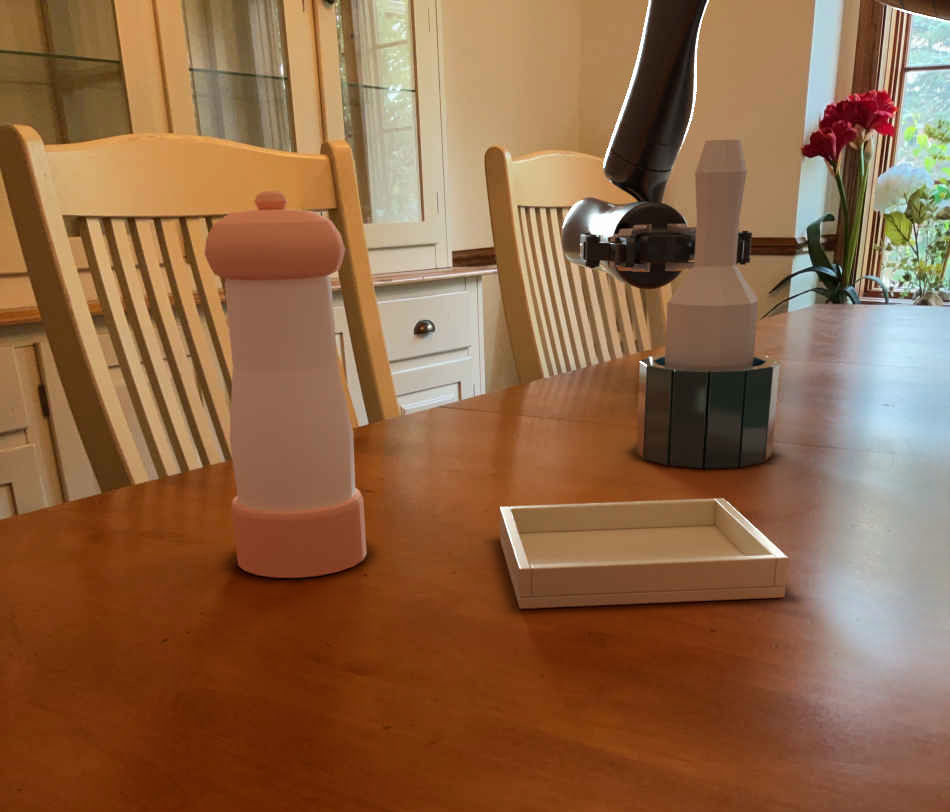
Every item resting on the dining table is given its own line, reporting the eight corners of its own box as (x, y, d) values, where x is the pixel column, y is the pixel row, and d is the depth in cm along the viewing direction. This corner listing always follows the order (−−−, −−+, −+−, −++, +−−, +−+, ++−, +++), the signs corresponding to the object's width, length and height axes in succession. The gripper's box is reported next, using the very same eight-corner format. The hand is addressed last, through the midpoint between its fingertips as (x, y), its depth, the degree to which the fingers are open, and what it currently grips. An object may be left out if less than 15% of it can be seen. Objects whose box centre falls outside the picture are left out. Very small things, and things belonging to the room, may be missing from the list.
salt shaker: (214, 556, 60) (169, 193, 52) (322, 530, 64) (295, 191, 57) (279, 588, 54) (239, 190, 47) (392, 557, 59) (372, 188, 51)
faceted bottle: (645, 454, 81) (658, 142, 73) (691, 441, 85) (709, 144, 77) (715, 466, 77) (738, 136, 68) (761, 452, 81) (787, 139, 73)
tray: (721, 532, 62) (723, 497, 61) (784, 597, 52) (788, 557, 51) (499, 541, 61) (499, 506, 60) (519, 609, 51) (519, 568, 50)
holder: (747, 437, 86) (754, 350, 83) (788, 465, 77) (797, 368, 74) (626, 442, 85) (629, 354, 83) (653, 471, 76) (658, 373, 73)
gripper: (567, 203, 97) (596, 204, 82) (717, 200, 98) (774, 200, 83) (566, 287, 100) (594, 303, 85) (712, 284, 101) (765, 298, 86)
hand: (683, 252), depth 84 cm, fingers open, 8 cm apart
